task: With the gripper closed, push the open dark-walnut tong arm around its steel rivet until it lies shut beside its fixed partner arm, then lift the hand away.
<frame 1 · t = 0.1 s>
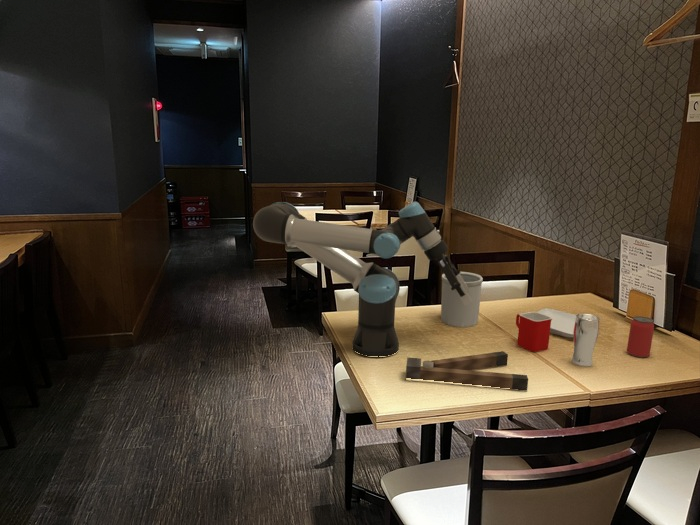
hand: (467, 297, 172), 15 cm above the table, tool tilted 35°, fingers open, 13 cm apart
utensil holder: (459, 321, 194), on the table
beer can: (637, 354, 166), on the table
mug: (528, 345, 173), on the table
beer glass: (581, 363, 159), on the table
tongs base: (427, 377, 147), on the table
salad plate: (558, 328, 190), on the table
tong arm: (469, 362, 153), point 2 cm above the table, hinge at 28.0°
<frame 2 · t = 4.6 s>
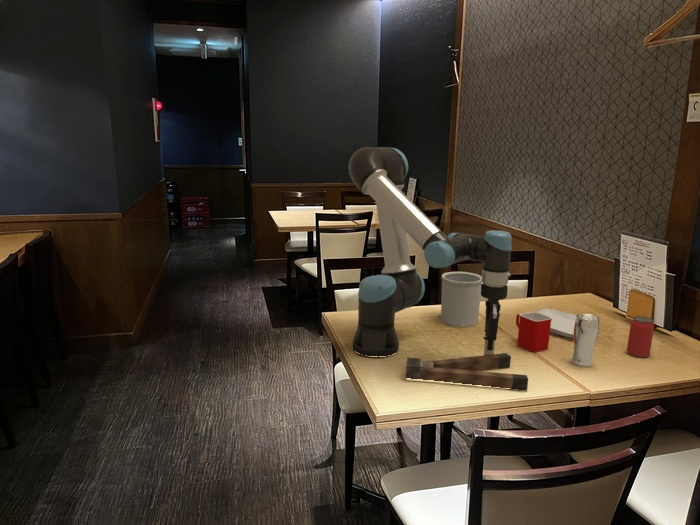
hand: (488, 358, 156), 2 cm above the table, tool pointing down, fingers closed
tong arm: (471, 364, 152), point 2 cm above the table, hinge at 24.8°, touching gripper
everything else where it was.
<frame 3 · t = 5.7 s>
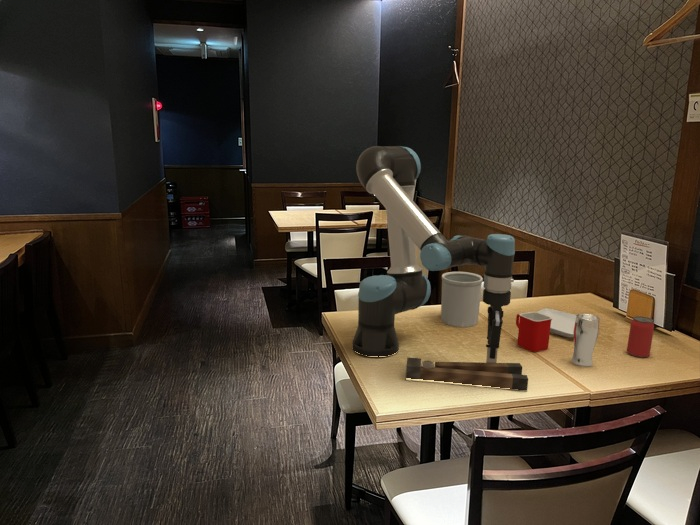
hand: (490, 366, 150), 2 cm above the table, tool pointing down, fingers closed
tong arm: (478, 369, 148), point 2 cm above the table, hinge at 9.0°, touching gripper
everything else where it was.
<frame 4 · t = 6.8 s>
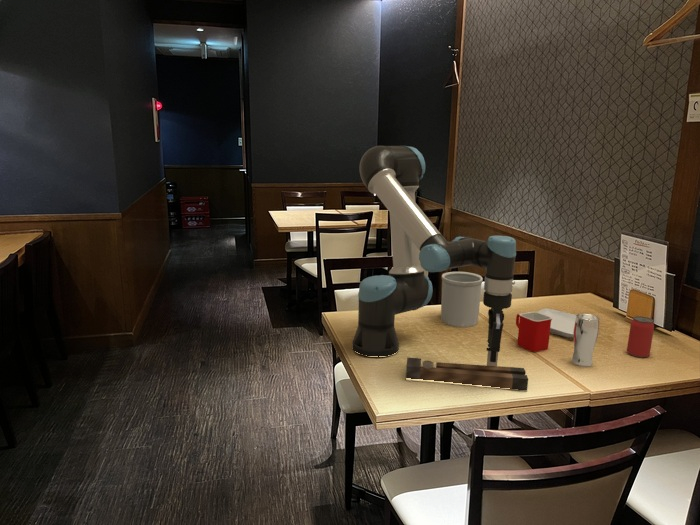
hand: (491, 370, 148), 2 cm above the table, tool pointing down, fingers closed
tong arm: (479, 372, 146), point 2 cm above the table, hinge at 2.2°, touching gripper
everything else where it was.
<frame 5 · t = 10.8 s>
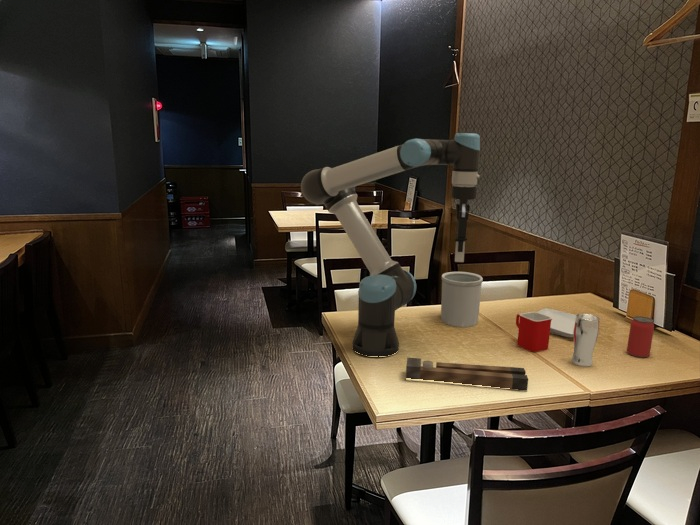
hand: (459, 261, 161), 29 cm above the table, tool pointing down, fingers closed
tong arm: (479, 372, 146), point 2 cm above the table, hinge at 2.2°
everything else where it was.
at the end: tong arm at +2° (first picture: +28°); mug moved 0.2 cm from its start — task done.
